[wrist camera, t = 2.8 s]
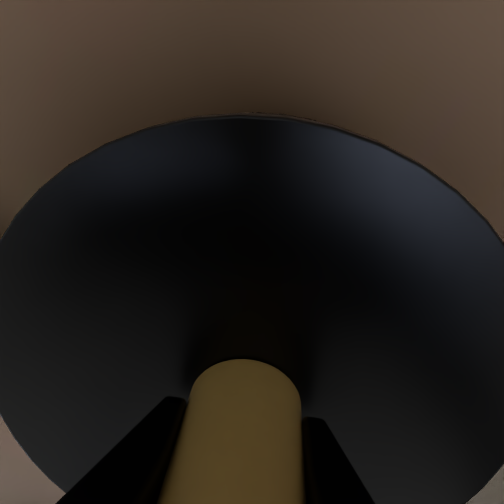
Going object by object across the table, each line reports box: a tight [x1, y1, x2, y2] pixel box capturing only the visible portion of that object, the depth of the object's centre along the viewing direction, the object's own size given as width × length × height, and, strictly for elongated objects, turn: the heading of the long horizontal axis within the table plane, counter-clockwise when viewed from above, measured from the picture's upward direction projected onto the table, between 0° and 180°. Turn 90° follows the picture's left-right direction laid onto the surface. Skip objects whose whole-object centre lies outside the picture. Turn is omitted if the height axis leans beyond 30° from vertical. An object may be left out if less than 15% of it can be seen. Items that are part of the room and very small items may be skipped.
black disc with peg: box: [0, 113, 504, 504], centre depth 7 cm, size 12×12×6 cm
